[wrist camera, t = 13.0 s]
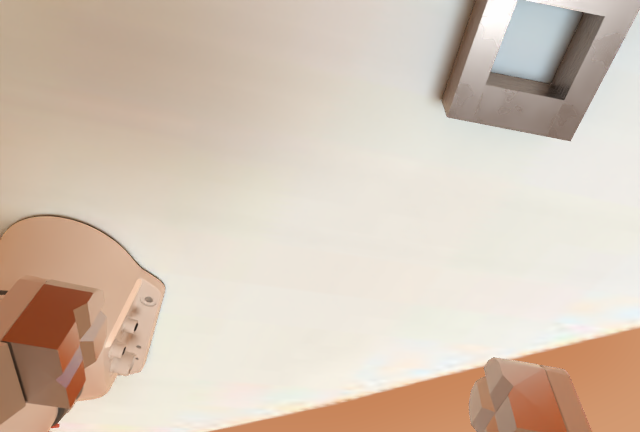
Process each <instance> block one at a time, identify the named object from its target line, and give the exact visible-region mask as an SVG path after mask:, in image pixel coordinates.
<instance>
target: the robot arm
mask: <svg viewBox="0 0 640 432" xmlns="http://www.w3.org/2000/svg"><path fill="white" fill-rule="evenodd" d="M164 293H165V286H164V285H163V283H162V282H161V281H159V280H158V279H157V278H155V277H154V276H152V275H151V274H149V273H148V272H146V271H144V270H143V269H142V268H140V267H139V266H138V265H137V264H136V262H135V261H134V260H133V259H132V258H131V256H130V255H129V254H128V253H127V252H126V251H125V250H124V249H123V248H122V247H121V246H120V245H119V244H118V243H116V242H115V241H114V240H113V239H111V238H110V237H108V236H107V235H105V234H104V233H102V232H100V231H98V230H97V229H95V228H92V227H90V226H88V225H86V224H83V223H80V222H77V221H74V220H70V219H66V218H61V217H52V216H39V217H32V218H27V219H24V220H21V221H19V222H17V223H15V224H13V225H12V226H11V227H10V228H8V229H7V231H6V232H5V233H4V235H3V236H2V237H1V239H0V432H49V430H50V428H57V427H59V424H57V423H58V422H59V421H60V420H61V418H62V417H63V416H64V415H65V414H66V413H68V412H69V411H70V410H71V408H72V407H73V405H74V404H75V402H76V401H84V400H91V399H96V398H99V397H102V396H104V395H105V394H107V393H108V391H109V390H110V388H111V386H112V384H113V382H114V380H115V378H116V376H117V375H124V376H128V375H129V374H134V373H138V372H140V371H141V370H142V368H143V367H144V365H145V362H146V359H147V355H148V352H149V348H150V344H151V341H152V337H153V334H154V330H155V326H156V323H157V319H158V315H159V312H160V308H161V304H162V301H163V297H164ZM484 370H485V375H486V376H485V377H483V378H481V379H479V380H477V381H476V382H475V384H474V386H473V388H472V390H471V394H470V400H469V415H470V421H471V425H472V426H473V428H474V429H475V430H476V431H477V432H592V430H591V428H590V425H589V423H588V420H587V418H586V415H585V413H584V410H583V408H582V405H581V403H580V400H579V398H578V396H577V393H576V391H575V389H574V386H573V383H572V381H571V379H570V376H569V374H568V373H567V372H566V371H565V370H564V369H559V368H554V367H548V366H542V365H537V364H531V363H526V362H520V361H514V360H508V359H501V358H495V357H493V358H491V359H490V360H488V362H487V364H486V365H485V367H484Z"/></svg>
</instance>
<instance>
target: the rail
mask: <svg viewBox="0 0 640 432" xmlns="http://www.w3.org/2000/svg"><path fill="white" fill-rule="evenodd" d="M517 1H518V0H475V3H474V6H473V9H472V11H471V14H470V17H469V20H468V23H467V26H466V29H465V32H464V35H463V38H462V41H461V44H460V47H459V50H458V53H457V56H456V59H455V62H454V65H453V68H452V71H451V74H450V77H449V80H448V83H447V86H446V89H445V92H444V95H443V98H442V103H443V106H444V109H445V113H446V116H447V117H449V118H454V119H459V120H464V121H469V122H475V123H480V124H485V125H490V126H495V127H500V128H505V129H511V130H516V131H521V132H526V133H531V134H536V135H541V136H547V137H552V138H557V139H562V140H567V141H571V139H572V137H573V135H574V133H575V131H576V130H577V128H578V126H579V124H580V122H581V120H582V118H583V116H584V114H585V112H586V110H587V109H588V107H589V105H590V103H591V101H592V99H593V97H594V95H595V93H596V91H597V89H598V88H599V86H600V84H601V82H602V80H603V78H604V76H605V74H606V72H607V70H608V69H609V67H610V65H611V63H612V61H613V59H614V57H615V55H616V53H617V51H618V49H619V48H620V46H621V44H622V42H623V40H624V38H625V36H626V34H627V32H628V30H629V28H630V27H631V25H632V23H633V21H634V19H635V17H636V15H637V13H638V11H639V9H640V0H527V1H532V2H536V3H541V4H546V5H551V6H556V7H561V8H566V9H570V10H575V11H580V12H584V14H583V16H582V18H581V20H580V22H579V25H578V27H577V29H576V31H575V33H574V35H573V38H572V40H571V42H570V44H569V46H568V48H567V50H566V53H565V55H564V57H563V59H562V61H561V63H560V66H559V68H558V70H557V72H556V74H555V76H554V79H553V81H552V83H551V84H548V83H543V82H537V81H532V80H527V79H522V78H517V77H512V76H507V75H502V74H497V73H492V72H490V71H491V69H492V66H493V64H494V61H495V58H496V56H497V53H498V50H499V48H500V45H501V43H502V40H503V37H504V35H505V32H506V30H507V27H508V24H509V22H510V19H511V17H512V14H513V11H514V9H515V6H516V4H517Z"/></svg>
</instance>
